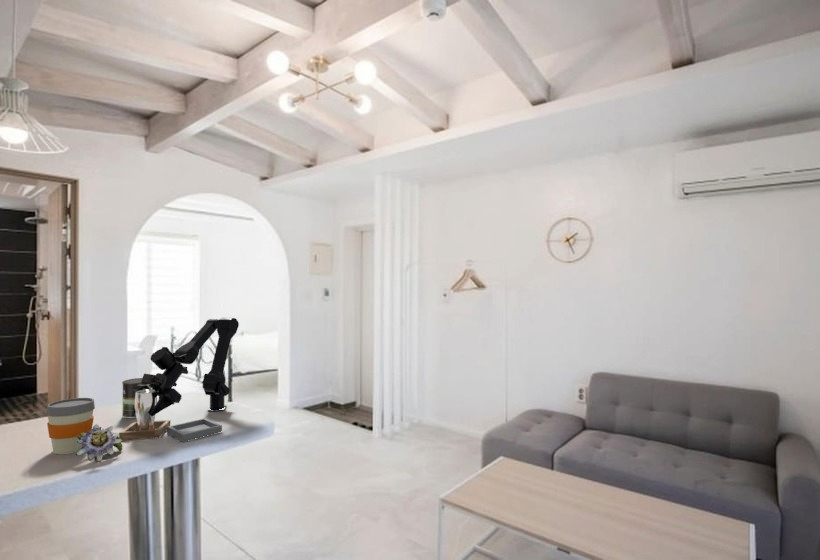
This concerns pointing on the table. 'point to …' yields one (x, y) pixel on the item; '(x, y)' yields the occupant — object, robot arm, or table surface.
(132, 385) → the coffee can
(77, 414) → the reusable coffee cup
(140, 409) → the shiny silver hollow cylinder
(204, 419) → the coaster tray
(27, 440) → the table surface
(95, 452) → the passion flower
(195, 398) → the table surface
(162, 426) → the walnut collar
